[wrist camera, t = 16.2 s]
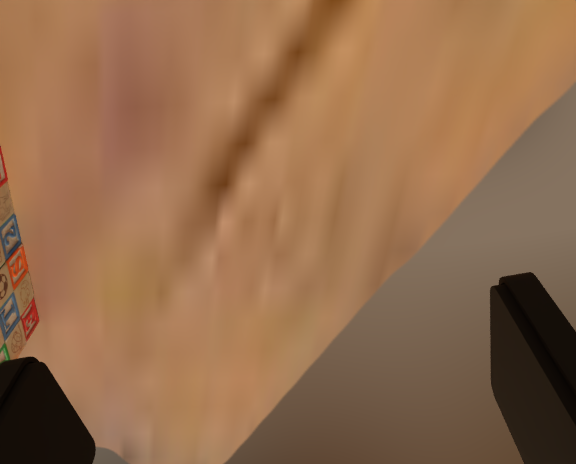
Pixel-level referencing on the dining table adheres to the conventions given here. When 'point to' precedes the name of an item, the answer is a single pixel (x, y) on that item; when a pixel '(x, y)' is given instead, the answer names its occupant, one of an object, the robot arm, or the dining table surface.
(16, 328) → the stack of blocks
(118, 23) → the dining table surface
